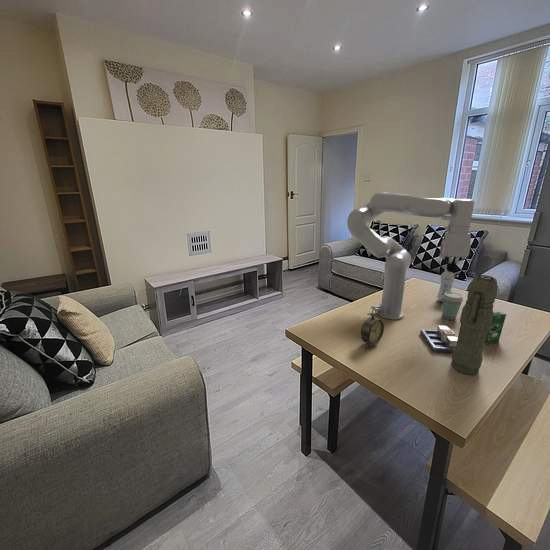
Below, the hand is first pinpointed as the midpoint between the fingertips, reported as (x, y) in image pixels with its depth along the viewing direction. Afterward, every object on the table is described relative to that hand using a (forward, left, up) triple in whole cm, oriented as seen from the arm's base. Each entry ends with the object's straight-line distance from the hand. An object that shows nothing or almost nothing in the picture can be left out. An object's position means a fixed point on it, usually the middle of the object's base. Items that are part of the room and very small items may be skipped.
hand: (450, 271), depth 127 cm
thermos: (-3, -32, -27) cm, 42 cm away
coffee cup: (+8, +10, -27) cm, 30 cm away
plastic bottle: (+13, +30, -27) cm, 43 cm away
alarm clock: (-35, -20, -27) cm, 48 cm away
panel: (-6, -16, -27) cm, 32 cm away
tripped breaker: (-3, -16, -26) cm, 30 cm away
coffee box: (+15, -12, -27) cm, 33 cm away
